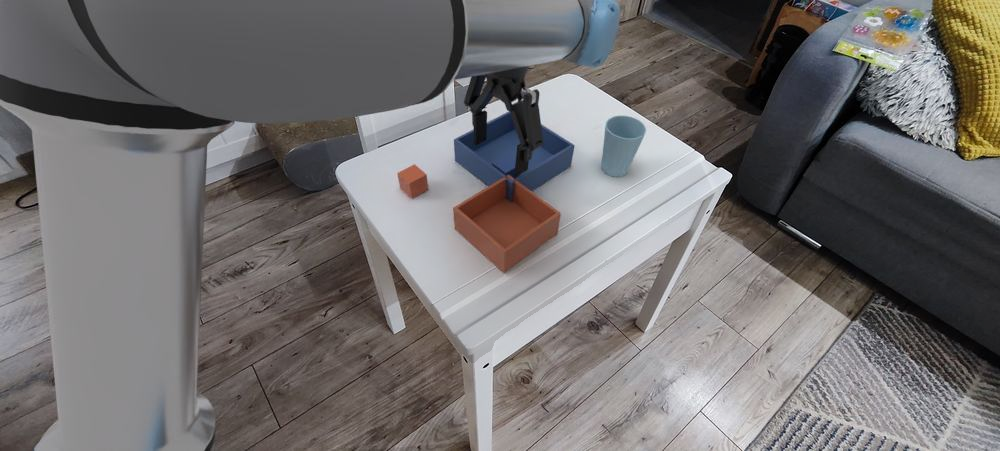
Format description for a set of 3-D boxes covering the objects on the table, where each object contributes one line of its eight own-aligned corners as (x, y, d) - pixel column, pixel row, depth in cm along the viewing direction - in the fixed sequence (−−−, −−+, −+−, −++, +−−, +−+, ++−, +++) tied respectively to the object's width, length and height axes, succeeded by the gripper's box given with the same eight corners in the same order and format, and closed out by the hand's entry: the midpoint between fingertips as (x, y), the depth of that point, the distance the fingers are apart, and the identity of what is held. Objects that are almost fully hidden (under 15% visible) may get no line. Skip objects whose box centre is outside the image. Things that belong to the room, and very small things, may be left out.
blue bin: (511, 204, 87) (512, 183, 83) (454, 160, 96) (453, 139, 91) (571, 166, 95) (574, 145, 91) (514, 128, 103) (515, 107, 99)
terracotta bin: (503, 273, 76) (504, 252, 72) (454, 228, 83) (452, 207, 79) (557, 234, 82) (561, 213, 78) (507, 195, 89) (508, 174, 85)
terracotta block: (411, 199, 88) (409, 183, 85) (400, 188, 89) (397, 172, 87) (428, 189, 89) (426, 174, 86) (416, 179, 91) (414, 163, 88)
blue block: (505, 188, 89) (505, 173, 86) (491, 178, 91) (491, 162, 88) (519, 179, 91) (521, 164, 88) (506, 169, 93) (506, 154, 90)
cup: (641, 171, 94) (654, 130, 87) (614, 185, 91) (625, 143, 84) (615, 152, 99) (626, 111, 91) (588, 165, 96) (597, 123, 88)
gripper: (579, 67, 67) (558, 179, 83) (476, 13, 78) (474, 121, 94) (544, 84, 63) (529, 197, 80) (441, 24, 75) (446, 135, 91)
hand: (499, 156), depth 87 cm, fingers open, 11 cm apart
